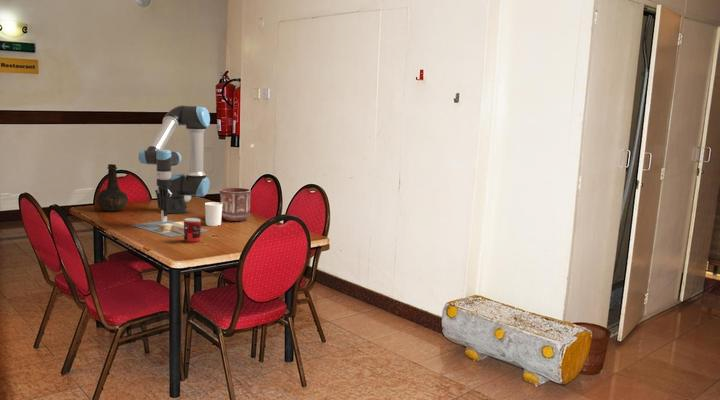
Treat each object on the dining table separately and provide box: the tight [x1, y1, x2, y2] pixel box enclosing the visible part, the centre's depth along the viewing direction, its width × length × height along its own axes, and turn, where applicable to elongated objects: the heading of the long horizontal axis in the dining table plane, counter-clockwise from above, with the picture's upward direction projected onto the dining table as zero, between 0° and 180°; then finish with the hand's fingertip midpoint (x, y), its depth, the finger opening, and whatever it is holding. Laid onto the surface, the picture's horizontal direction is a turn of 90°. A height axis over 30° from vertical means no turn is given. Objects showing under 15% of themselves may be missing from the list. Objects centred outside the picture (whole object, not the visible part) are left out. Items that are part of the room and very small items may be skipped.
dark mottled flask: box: [96, 163, 129, 213], centre depth 367 cm, size 18×18×28 cm
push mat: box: [130, 219, 210, 238], centre depth 329 cm, size 24×36×1 cm, turn 52°
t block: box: [158, 220, 184, 233], centre depth 324 cm, size 16×15×3 cm
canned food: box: [183, 217, 202, 244], centre depth 303 cm, size 8×8×11 cm
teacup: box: [184, 195, 192, 204], centre depth 410 cm, size 14×11×8 cm
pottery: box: [219, 187, 252, 223], centre depth 359 cm, size 18×18×18 cm
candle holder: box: [204, 201, 223, 227], centre depth 343 cm, size 10×10×12 cm
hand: (164, 221), depth 333 cm, fingers closed
